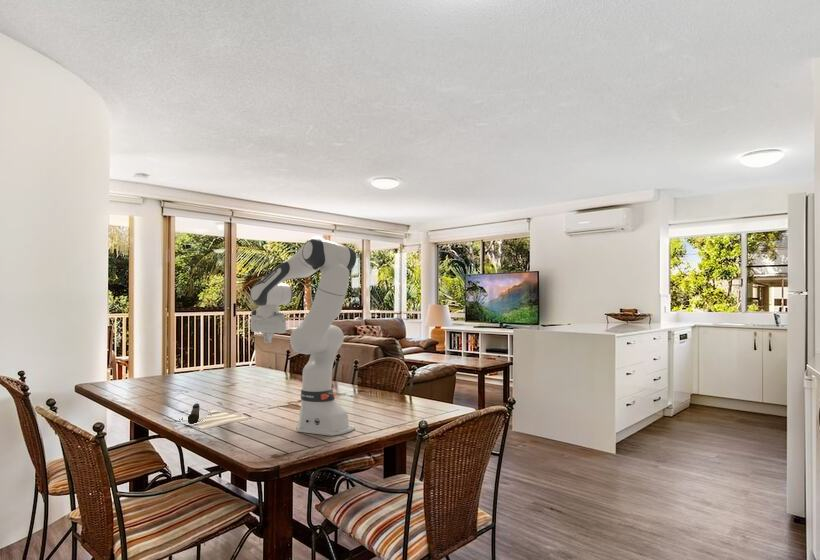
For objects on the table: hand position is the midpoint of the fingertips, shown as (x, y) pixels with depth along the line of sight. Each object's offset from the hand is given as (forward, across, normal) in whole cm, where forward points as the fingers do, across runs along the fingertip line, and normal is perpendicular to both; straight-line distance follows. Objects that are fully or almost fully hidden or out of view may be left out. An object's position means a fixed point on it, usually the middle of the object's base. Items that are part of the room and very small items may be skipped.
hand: (267, 342), depth 222 cm
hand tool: (+29, +7, +31) cm, 43 cm away
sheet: (+29, +3, +28) cm, 40 cm away
